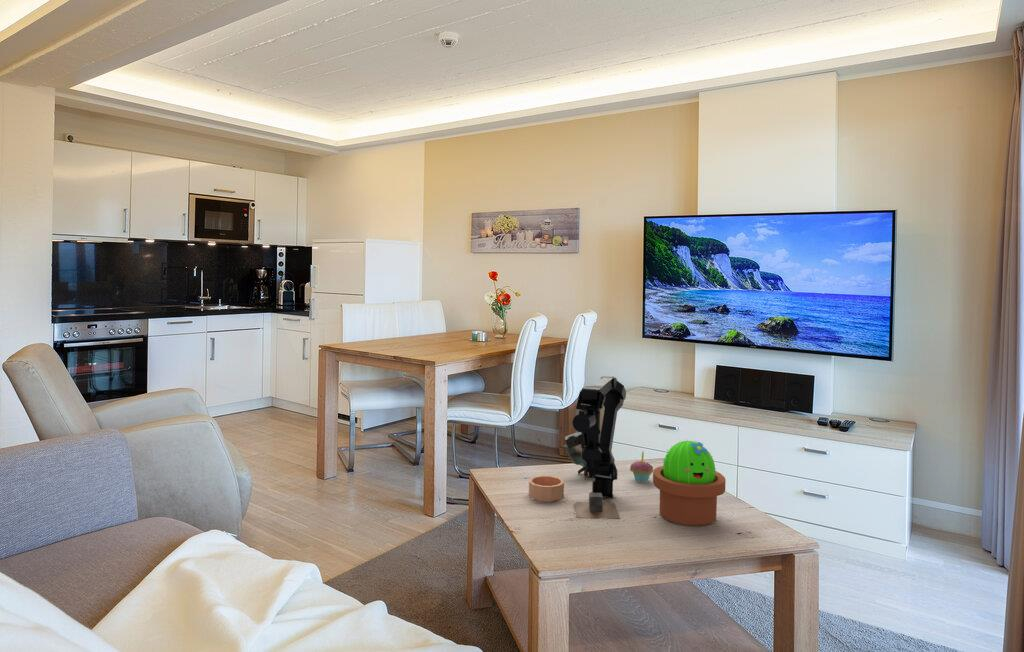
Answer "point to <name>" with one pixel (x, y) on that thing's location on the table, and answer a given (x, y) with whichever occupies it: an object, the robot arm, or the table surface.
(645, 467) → the cupcake
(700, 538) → the table surface
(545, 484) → the bowl
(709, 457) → the potted cactus
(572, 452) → the bird figurine
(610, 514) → the lid
